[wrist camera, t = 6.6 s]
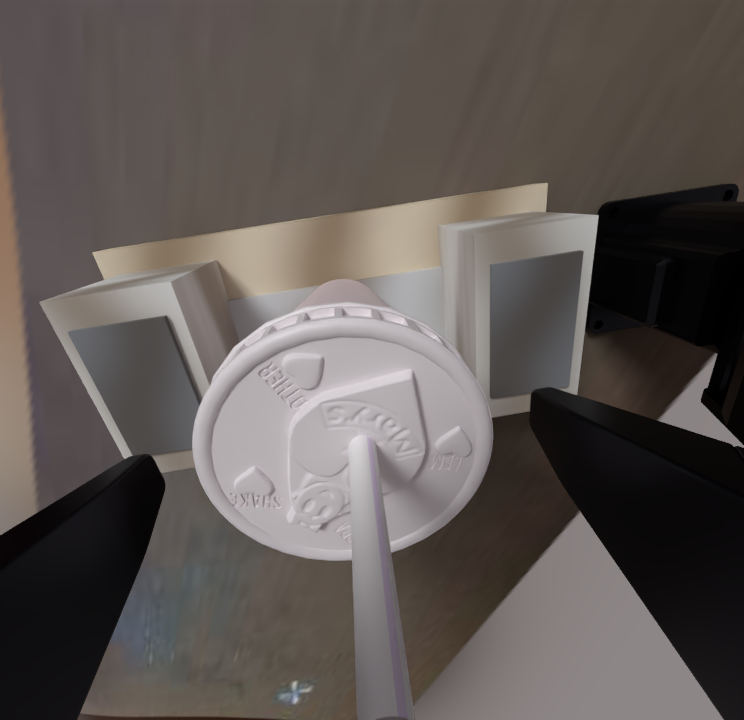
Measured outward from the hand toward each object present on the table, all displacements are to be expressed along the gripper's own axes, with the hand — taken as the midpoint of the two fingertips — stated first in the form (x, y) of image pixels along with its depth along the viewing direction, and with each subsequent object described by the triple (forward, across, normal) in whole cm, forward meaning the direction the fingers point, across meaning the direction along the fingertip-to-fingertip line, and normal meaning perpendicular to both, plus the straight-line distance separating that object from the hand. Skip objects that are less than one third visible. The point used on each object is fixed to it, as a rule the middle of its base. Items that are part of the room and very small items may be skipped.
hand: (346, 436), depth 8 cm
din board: (+10, 0, 0) cm, 10 cm away
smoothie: (+9, 0, 0) cm, 9 cm away
